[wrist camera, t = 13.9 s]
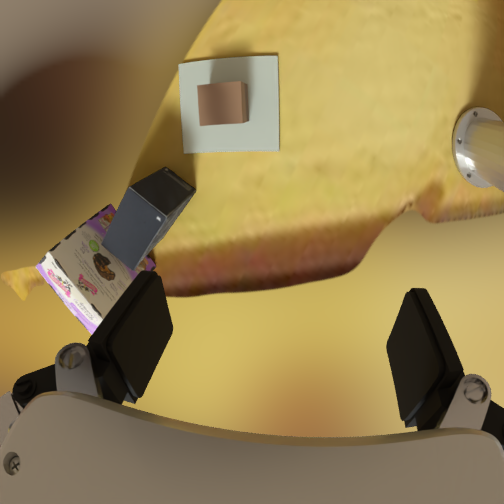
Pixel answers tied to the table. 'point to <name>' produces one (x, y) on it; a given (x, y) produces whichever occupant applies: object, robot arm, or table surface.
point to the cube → (223, 103)
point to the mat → (259, 104)
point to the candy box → (89, 271)
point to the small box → (146, 216)
